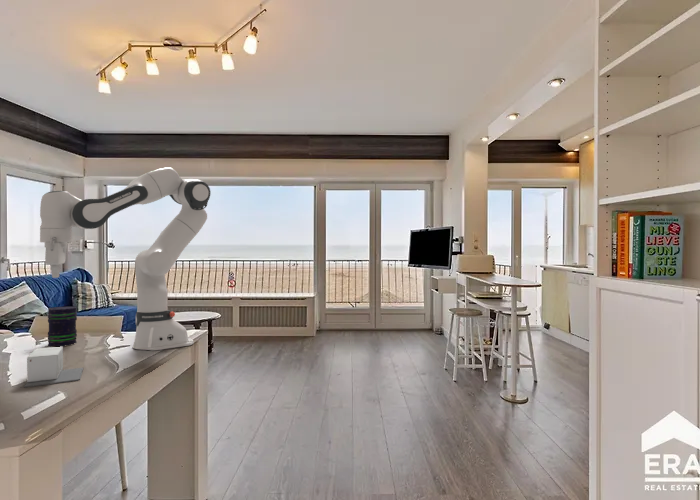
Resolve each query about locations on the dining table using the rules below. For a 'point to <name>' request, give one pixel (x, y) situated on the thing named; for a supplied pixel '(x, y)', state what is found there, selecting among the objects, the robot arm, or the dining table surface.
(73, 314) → the storage jar
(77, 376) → the mat
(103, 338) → the dining table surface
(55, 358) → the supplement box
